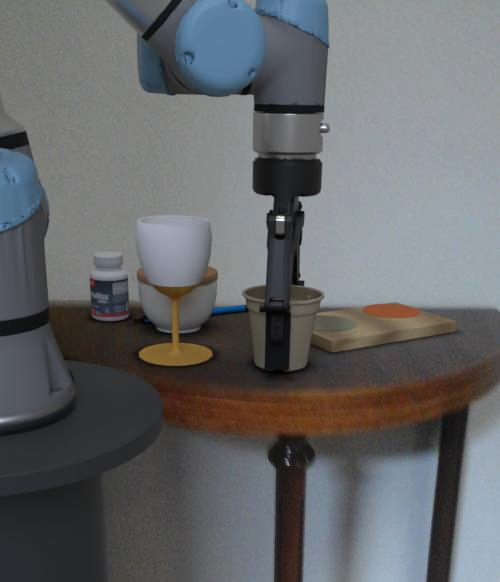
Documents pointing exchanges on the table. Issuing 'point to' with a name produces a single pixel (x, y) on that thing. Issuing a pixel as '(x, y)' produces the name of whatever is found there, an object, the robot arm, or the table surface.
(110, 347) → the table surface
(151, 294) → the trinket box
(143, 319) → the pen
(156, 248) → the cup
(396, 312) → the circle
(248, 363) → the table surface
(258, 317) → the flower pot
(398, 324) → the board
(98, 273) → the pill bottle
